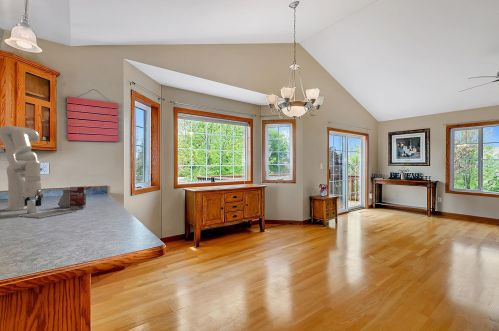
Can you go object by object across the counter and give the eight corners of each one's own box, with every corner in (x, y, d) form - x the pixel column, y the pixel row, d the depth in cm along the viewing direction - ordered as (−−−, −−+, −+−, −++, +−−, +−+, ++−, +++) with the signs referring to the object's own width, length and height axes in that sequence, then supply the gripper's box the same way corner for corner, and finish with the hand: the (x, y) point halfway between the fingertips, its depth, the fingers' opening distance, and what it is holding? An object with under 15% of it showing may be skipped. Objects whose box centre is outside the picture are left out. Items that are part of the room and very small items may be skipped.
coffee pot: (56, 209, 173) (57, 187, 173) (58, 206, 183) (58, 186, 183) (92, 206, 185) (92, 186, 185) (92, 204, 194) (92, 185, 194)
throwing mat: (18, 216, 146) (18, 215, 146) (56, 210, 168) (56, 209, 168) (40, 218, 142) (40, 217, 142) (76, 211, 163) (76, 210, 163)
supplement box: (69, 209, 170) (69, 187, 171) (72, 208, 175) (72, 186, 175) (83, 209, 173) (83, 186, 173) (86, 208, 177) (86, 186, 178)
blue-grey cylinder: (25, 213, 157) (25, 200, 157) (33, 211, 162) (34, 199, 162) (30, 213, 155) (30, 201, 156) (39, 212, 160) (39, 200, 160)
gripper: (16, 179, 157) (16, 206, 157) (36, 179, 153) (36, 207, 152) (29, 179, 165) (29, 204, 164) (48, 179, 160) (48, 205, 160)
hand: (32, 205), depth 158 cm, fingers open, 9 cm apart
